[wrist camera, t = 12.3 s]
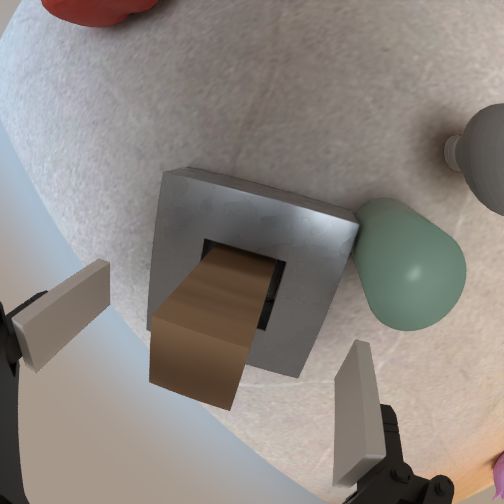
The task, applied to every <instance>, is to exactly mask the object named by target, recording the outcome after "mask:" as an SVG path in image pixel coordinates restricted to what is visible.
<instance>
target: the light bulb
mask: <svg viewBox="0 0 504 504" xmlns="http://www.w3.org/2000/svg"><path fill="white" fill-rule="evenodd" d="M444 156H445V160H446V162H447V164H448V165H449V167H450V168H451V169H453V170H455V171H457V172H462V173H463V174H464V176H465V179H466V182H467V184H468V186H469V187H470V189H471V191H472V192H473V193H474V195H475V196H476V197H477V198H478V200H479V201H480V202H481V203H482V204H484V205H485V206H486V207H487V208H489V209H490V210H491V211H493V212H495V213H497V214H499V215H502V216H504V104H503V103H502V104H495V105H490V106H488V107H486V108H484V109H482V110H480V111H479V112H478V113H477V114H475V115H474V116H473V117H472V118H471V119H470V121H469V122H468V124H467V125H466V128H465V130H464V133H463V134H462V135H454V136H452V137H450V138H449V139H448V140H447V142H446V144H445V147H444Z"/></svg>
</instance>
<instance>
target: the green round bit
mask: <svg viewBox="0 0 504 504" xmlns="http://www.w3.org/2000/svg"><path fill="white" fill-rule="evenodd" d="M354 216H355V218H356V220H357V221H358V223H359V228H358V231H357V234H356V237H355V240H354V243H353V246H352V248H351V254H352V256H353V259H354V262H355V265H356V268H357V271H358V274H359V277H360V280H361V283H362V286H363V289H364V292H365V295H366V298H367V301H368V304H369V307H370V309H371V311H372V312H373V314H374V315H375V317H376V318H377V319H378V320H379V321H380V322H382V323H383V324H385V325H386V326H388V327H390V328H393V329H396V330H401V331H415V330H420V329H423V328H426V327H429V326H431V325H433V324H435V323H436V322H438V321H439V320H441V319H442V318H443V317H445V316H446V315H447V314H448V313H449V312H450V311H451V309H452V308H453V307H454V306H455V304H456V303H457V301H458V299H459V298H460V296H461V293H462V291H463V288H464V285H465V280H466V262H465V258H464V255H463V252H462V250H461V248H460V246H459V245H458V244H457V242H456V241H455V240H454V239H453V238H452V237H451V236H449V235H448V234H447V233H445V232H444V231H443V230H441V229H440V228H439V227H437V226H436V225H434V224H433V223H432V222H430V221H429V220H427V219H426V218H424V217H423V216H422V215H420V214H419V213H417V212H416V211H414V210H413V209H411V208H410V207H408V206H407V205H405V204H404V203H402V202H400V201H398V200H395V199H392V198H379V199H375V200H372V201H370V202H368V203H366V204H365V205H363V206H362V207H361V208H360V209H359V210H358V211H357V212H356V214H355V215H354Z"/></svg>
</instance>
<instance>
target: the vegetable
mask: <svg viewBox="0 0 504 504" xmlns="http://www.w3.org/2000/svg"><path fill="white" fill-rule="evenodd" d="M158 1H159V0H41V2H42V5H43V6H44V7H45V9H46V10H47V11H48V12H49V13H50V14H52V15H54V16H56V17H58V18H60V19H62V20H65V21H68V22H71V23H74V24H78V25H81V26H88V27H107V26H111V25H115V24H118V23H120V22H122V21H123V20H124V19H126V18H127V16H128V15H129V14H130V13H135V12H142V11H146V10H148V9H150V8H151V7H153V6H154V5H155V4H156V3H157V2H158Z"/></svg>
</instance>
